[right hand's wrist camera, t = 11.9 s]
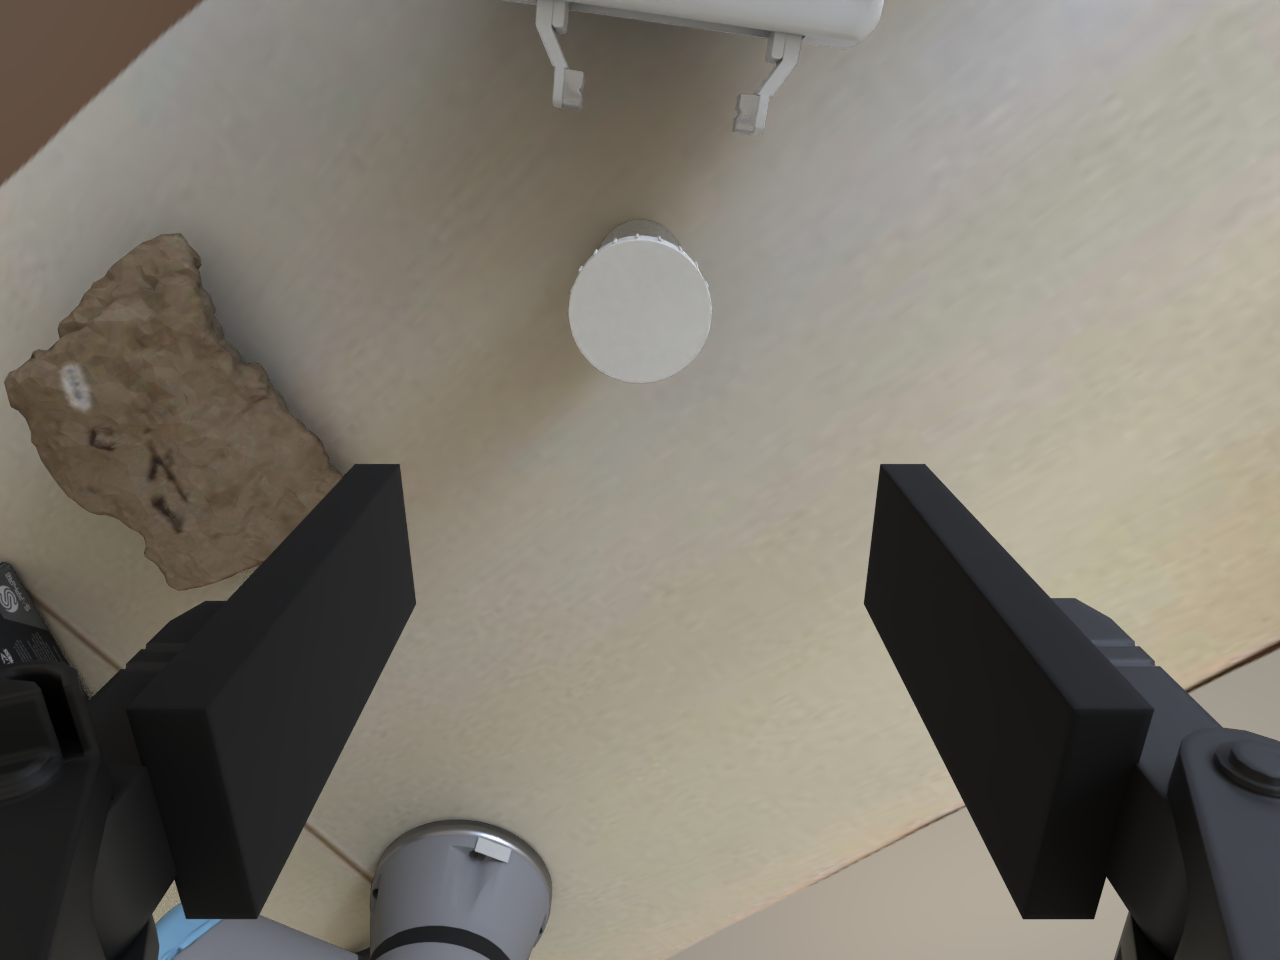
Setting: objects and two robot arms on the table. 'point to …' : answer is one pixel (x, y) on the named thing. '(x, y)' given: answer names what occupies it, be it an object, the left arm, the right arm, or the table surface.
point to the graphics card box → (22, 625)
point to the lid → (640, 309)
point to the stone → (169, 422)
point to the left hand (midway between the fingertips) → (657, 121)
